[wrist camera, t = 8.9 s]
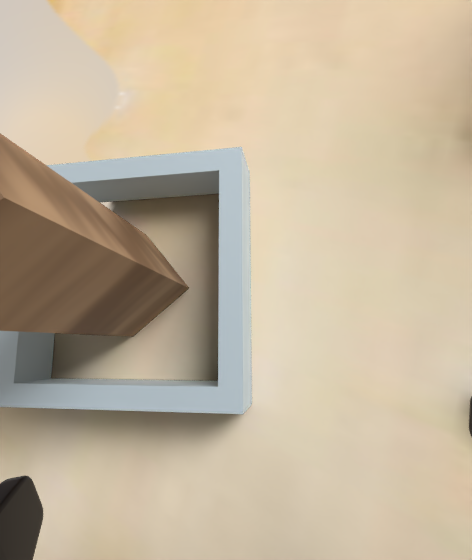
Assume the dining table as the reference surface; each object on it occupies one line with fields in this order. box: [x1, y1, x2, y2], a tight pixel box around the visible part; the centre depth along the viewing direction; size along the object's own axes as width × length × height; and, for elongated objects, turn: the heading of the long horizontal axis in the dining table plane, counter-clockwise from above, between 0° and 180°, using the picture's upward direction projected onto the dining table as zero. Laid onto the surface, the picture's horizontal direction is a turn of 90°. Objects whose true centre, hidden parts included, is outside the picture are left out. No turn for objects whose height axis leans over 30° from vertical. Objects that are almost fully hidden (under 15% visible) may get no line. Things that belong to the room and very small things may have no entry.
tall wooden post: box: [0, 134, 189, 336], centre depth 16 cm, size 4×4×14 cm
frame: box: [0, 147, 252, 414], centre depth 21 cm, size 13×13×3 cm
